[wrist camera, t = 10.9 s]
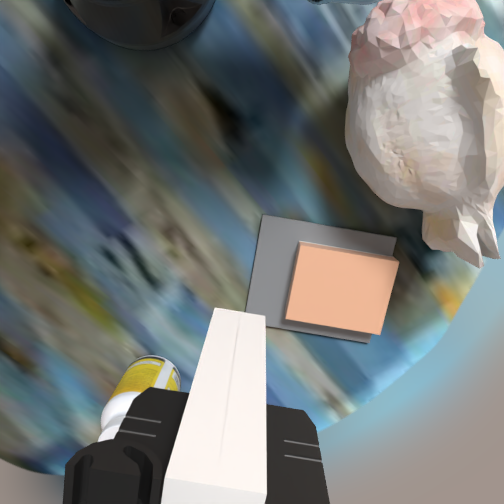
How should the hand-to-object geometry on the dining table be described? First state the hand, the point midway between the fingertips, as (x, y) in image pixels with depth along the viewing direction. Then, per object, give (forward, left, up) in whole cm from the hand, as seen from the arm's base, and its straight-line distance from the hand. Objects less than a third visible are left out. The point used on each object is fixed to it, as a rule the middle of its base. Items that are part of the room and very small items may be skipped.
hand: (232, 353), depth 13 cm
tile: (+5, -7, -31) cm, 32 cm away
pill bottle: (-8, -22, -33) cm, 40 cm away
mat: (+8, -7, -32) cm, 34 cm away
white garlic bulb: (+12, +9, -33) cm, 36 cm away
